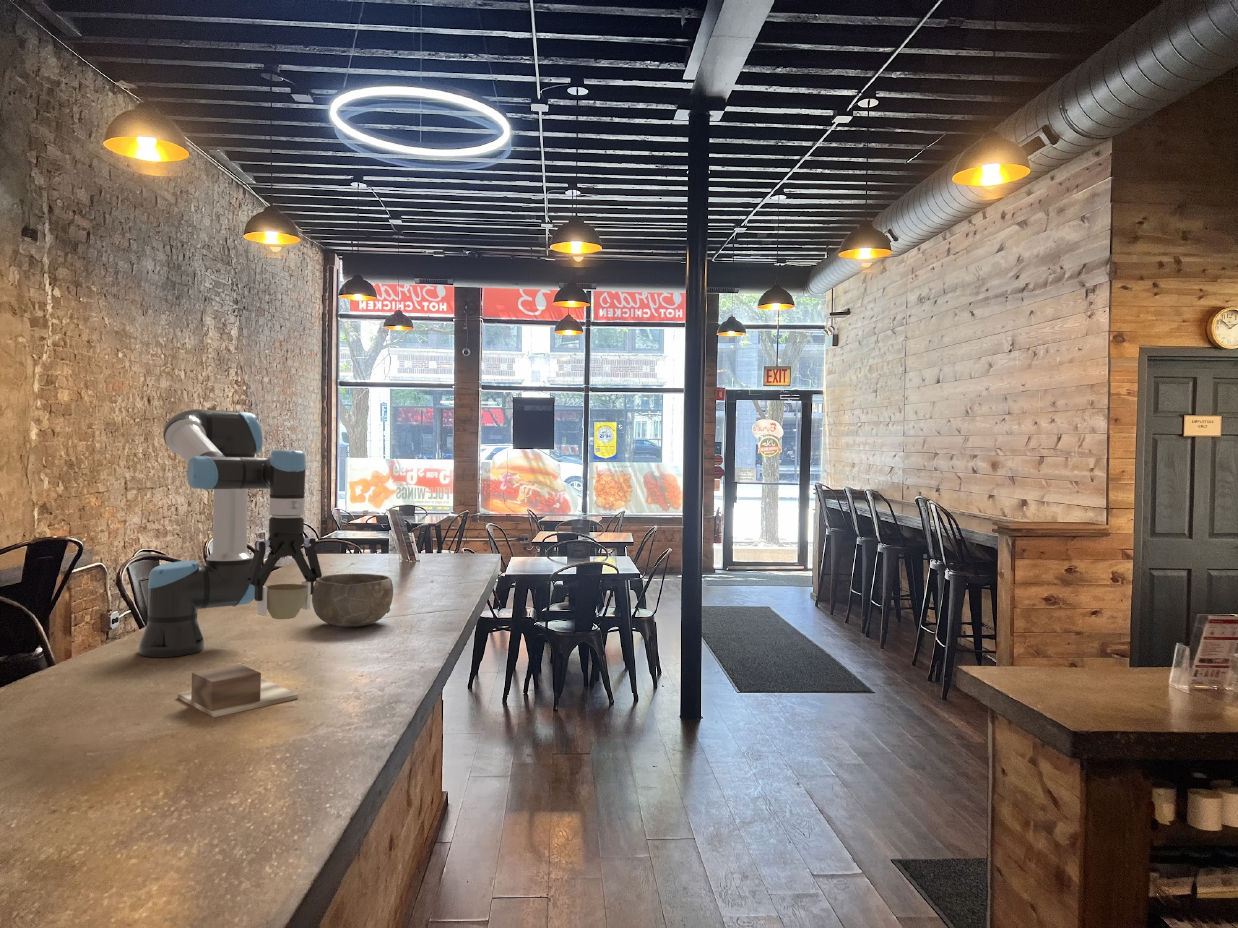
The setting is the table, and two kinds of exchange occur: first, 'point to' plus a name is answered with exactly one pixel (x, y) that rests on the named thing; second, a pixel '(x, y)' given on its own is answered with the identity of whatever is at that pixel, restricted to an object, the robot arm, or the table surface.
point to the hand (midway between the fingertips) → (284, 611)
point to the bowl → (352, 598)
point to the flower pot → (285, 600)
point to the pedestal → (225, 687)
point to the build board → (267, 697)
